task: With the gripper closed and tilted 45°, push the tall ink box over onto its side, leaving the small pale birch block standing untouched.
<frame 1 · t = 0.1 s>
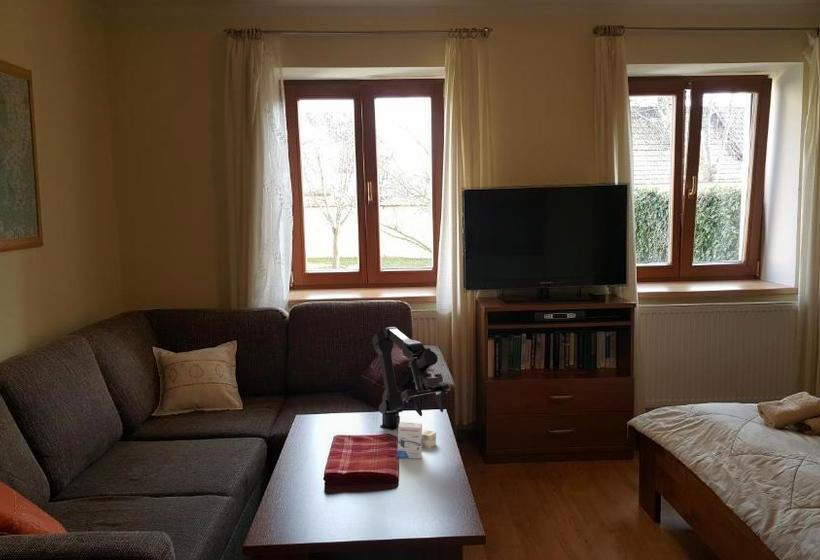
hand: (431, 413, 233), 15 cm above the table, tool tilted 35°, fingers open, 9 cm apart
birch block: (426, 445, 242), on the table
ink box: (409, 456, 231), on the table
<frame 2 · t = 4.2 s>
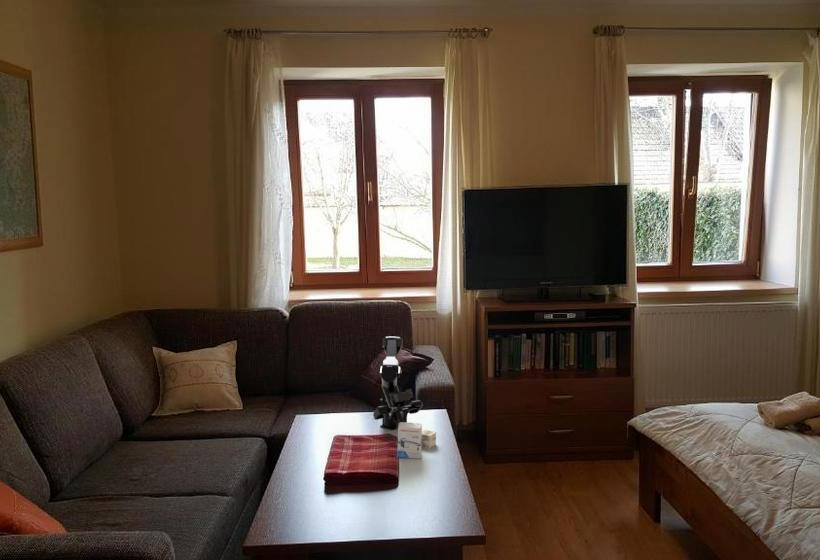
hand: (405, 430, 232), 9 cm above the table, tool tilted 45°, fingers closed
nothing on the table moved.
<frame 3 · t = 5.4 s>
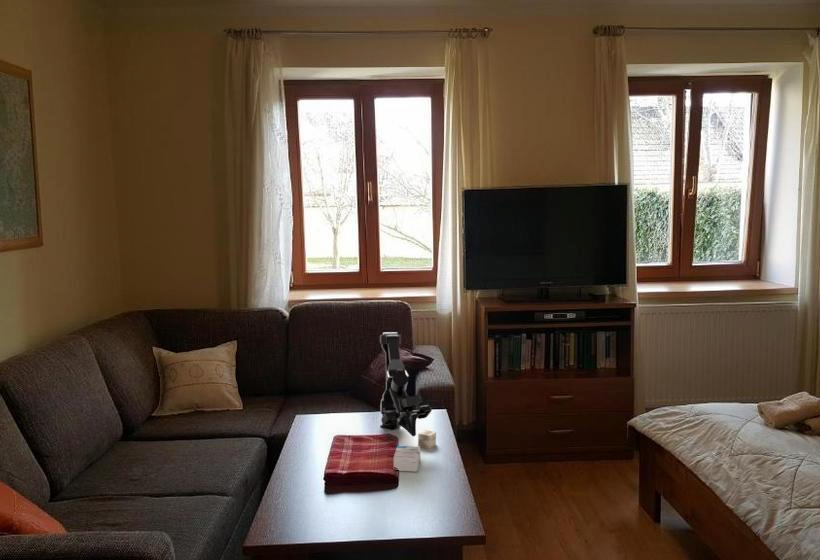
hand: (414, 435, 227), 9 cm above the table, tool tilted 45°, fingers closed
ink box: (408, 451, 228), point 3 cm above the table
everything else where it was.
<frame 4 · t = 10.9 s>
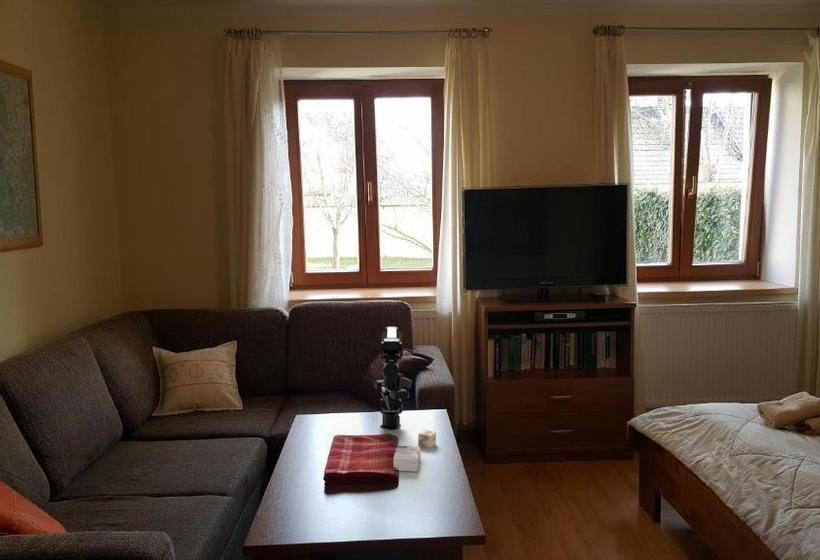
hand: (390, 410, 244), 12 cm above the table, tool pointing down, fingers closed
nothing on the table moved.
at the end: ink box tilted 91°; ink box inside the target area (6.0 cm from its centre), point 2.6 cm above the table; birch block moved 0.1 cm from its start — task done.
